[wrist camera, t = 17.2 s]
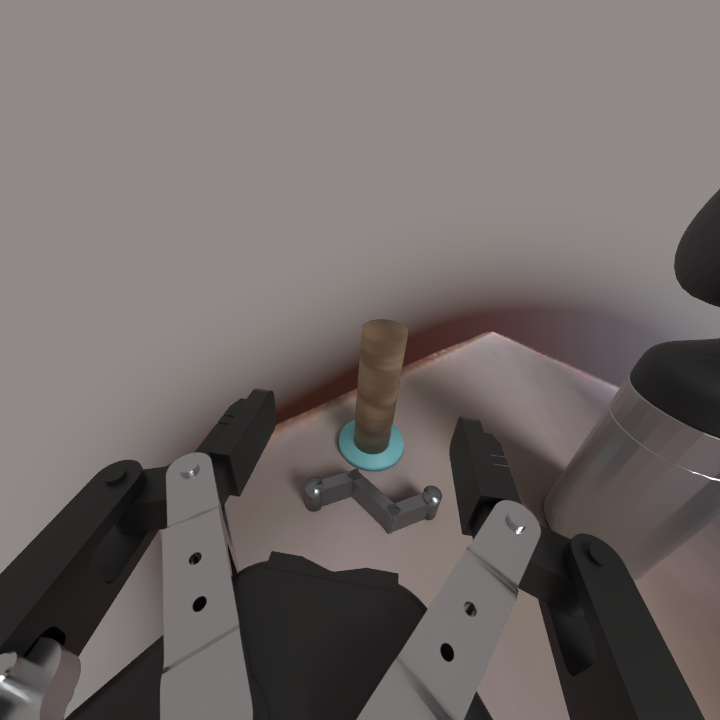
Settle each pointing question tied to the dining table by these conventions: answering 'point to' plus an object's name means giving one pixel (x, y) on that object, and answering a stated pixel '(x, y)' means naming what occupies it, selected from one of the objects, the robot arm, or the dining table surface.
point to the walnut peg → (378, 383)
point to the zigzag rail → (372, 499)
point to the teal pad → (369, 460)
